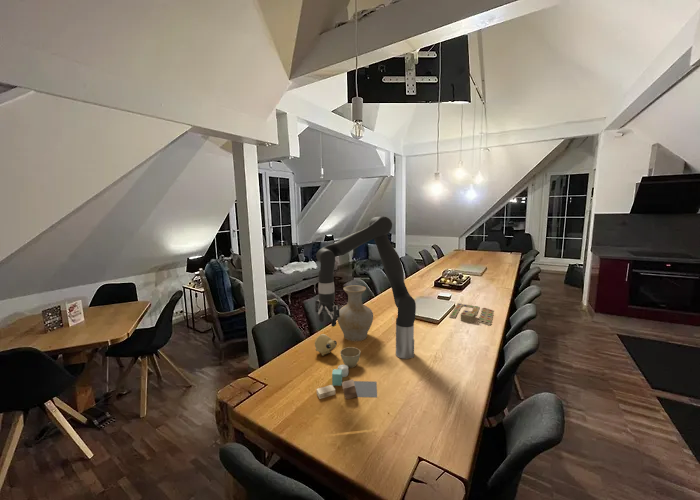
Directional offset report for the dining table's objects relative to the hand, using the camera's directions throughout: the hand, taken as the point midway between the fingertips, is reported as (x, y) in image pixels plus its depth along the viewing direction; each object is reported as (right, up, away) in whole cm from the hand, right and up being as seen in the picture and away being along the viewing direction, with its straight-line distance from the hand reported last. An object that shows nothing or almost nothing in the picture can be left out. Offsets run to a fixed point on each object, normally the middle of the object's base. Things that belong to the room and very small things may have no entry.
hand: (327, 323), depth 143 cm
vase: (+14, -17, +39) cm, 45 cm away
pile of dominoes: (+99, -11, +71) cm, 122 cm away
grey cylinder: (+8, -24, -2) cm, 25 cm away
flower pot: (+11, -23, +7) cm, 26 cm away
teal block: (+5, -25, -9) cm, 27 cm away
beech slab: (+1, -26, -17) cm, 31 cm away
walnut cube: (+11, -25, -17) cm, 33 cm away
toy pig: (-2, -21, +18) cm, 28 cm away
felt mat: (+17, -25, -14) cm, 33 cm away
